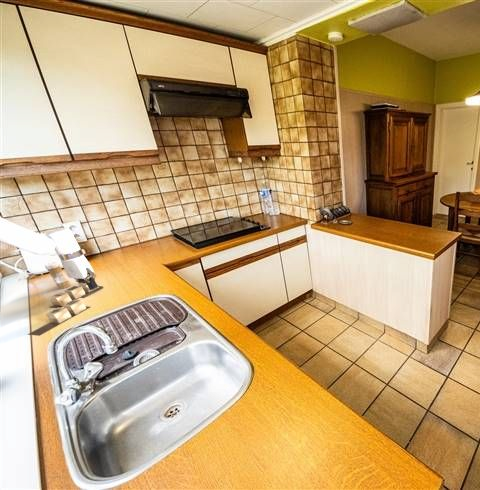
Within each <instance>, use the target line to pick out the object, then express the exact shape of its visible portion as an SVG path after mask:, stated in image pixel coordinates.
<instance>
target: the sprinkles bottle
mask: <svg viewBox="0 0 480 490" xmlns="http://www.w3.org/2000/svg"><path fill="white" fill-rule="evenodd" d="M44 267H45V269H46V270H47V271H48V273H49V275H50V277H51V278H52V280H53V281H54V283H55V285H56V286H57V289H59V290H63V289H66V288H70V286H71V283H70V281H69V279H68V276H67V275H66V273H65V271H64V270H63V269H62V268H61V264H60V263H59V262H58V261H53V262H50V263H46V264H44Z"/></svg>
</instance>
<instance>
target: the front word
mask: <svg viewBox="0 0 480 490" xmlns="http://www.w3.org/2000/svg"><path fill="white" fill-rule="evenodd" d="M90 308H91V306H89V305H88V306H87V305H85V303H84V301H83V300H82V299H77V300H72V301H70V302H68V303H66V304H64V305H63V307H61V308H53V310H50V311H49V312H47V313H45V316H46V317H47V318H48V320H49V321H50V322H48V323H46V324H44V325H43V326H40V327H39V328H36V329H35V330H33V331H32V332H29V333H28V334H27V335H28V336H38V337H40V336H42V335H43V334H45V333H47V332H49V331H51V330H53V329H54V328H56V327H58V326H60V325H61V324H64V323H66V322H67V321H69V320H70V319H72V318H75V317H76V316H78V315H80V314H81V313H83V312H85V311H86V310H89V309H90Z"/></svg>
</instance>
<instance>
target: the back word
mask: <svg viewBox="0 0 480 490" xmlns="http://www.w3.org/2000/svg"><path fill="white" fill-rule="evenodd" d="M103 289H104V286H103V285H98V288H96V289H94V290H92V291H90V292H87V291H84V290H83V288H82V286H79V285H73V286H71V287H68V288H67V289H64V290H63V292H58V293H56V294H53V295H52V296H50V297H48V299H49V300H50V302H51V303H52V305H51V306H49V307H48V308H49V309H56V308H64V307H63V305H64V304H66V303H68V302H70V301H72V300H80V299H85V298H88V297H89V296H91V295H93V294H95V293H97V292H98V291H101V290H103Z"/></svg>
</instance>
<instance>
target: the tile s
mask: <svg viewBox="0 0 480 490" xmlns="http://www.w3.org/2000/svg"><path fill="white" fill-rule="evenodd" d="M84 280H85V279H84ZM95 282H96V284H97V285H98V283H97V281H96V280H95ZM86 283H87V282H86V280H85V281H83V282H80V283H79V282H77V284H78V286H82V288H83V290H84V291H87V292H90V291H92V290H90V289H89V287H88V285H87V284H86ZM97 288H98V287H97ZM95 289H96V288H95ZM93 290H94V289H93Z"/></svg>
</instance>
